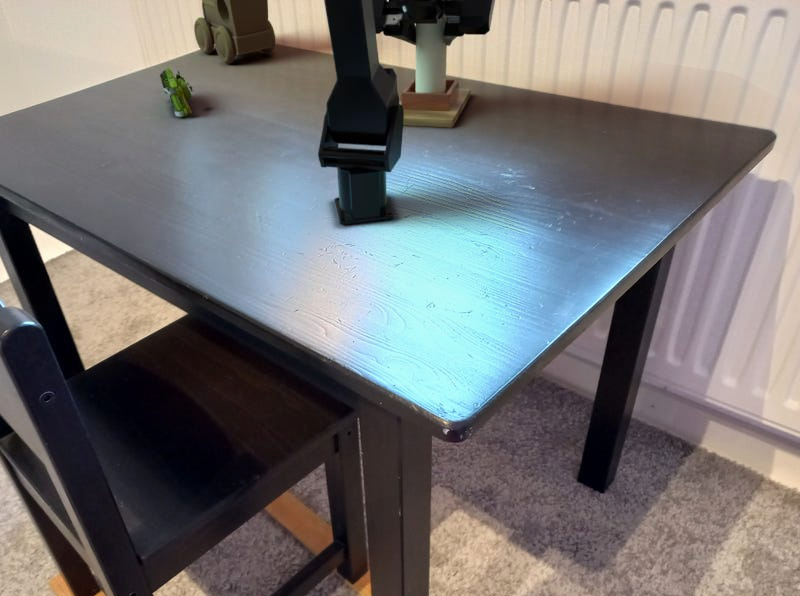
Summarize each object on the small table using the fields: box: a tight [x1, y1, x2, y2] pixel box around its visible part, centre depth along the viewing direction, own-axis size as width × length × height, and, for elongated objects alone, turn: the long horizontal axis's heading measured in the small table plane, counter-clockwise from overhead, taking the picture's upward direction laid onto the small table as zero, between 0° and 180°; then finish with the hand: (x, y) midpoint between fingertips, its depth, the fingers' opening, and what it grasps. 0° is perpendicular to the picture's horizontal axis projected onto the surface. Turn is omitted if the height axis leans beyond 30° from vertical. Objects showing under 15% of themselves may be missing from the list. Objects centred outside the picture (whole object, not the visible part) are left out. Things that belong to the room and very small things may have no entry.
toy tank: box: [159, 67, 194, 118], centre depth 123 cm, size 7×19×10 cm
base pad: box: [399, 77, 472, 129], centre depth 110 cm, size 14×10×4 cm
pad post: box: [415, 17, 448, 93], centre depth 105 cm, size 5×5×14 cm
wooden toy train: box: [193, 0, 277, 65], centre depth 141 cm, size 20×11×17 cm, turn 31°
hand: (433, 42), depth 106 cm, fingers closed on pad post, 4 cm apart
